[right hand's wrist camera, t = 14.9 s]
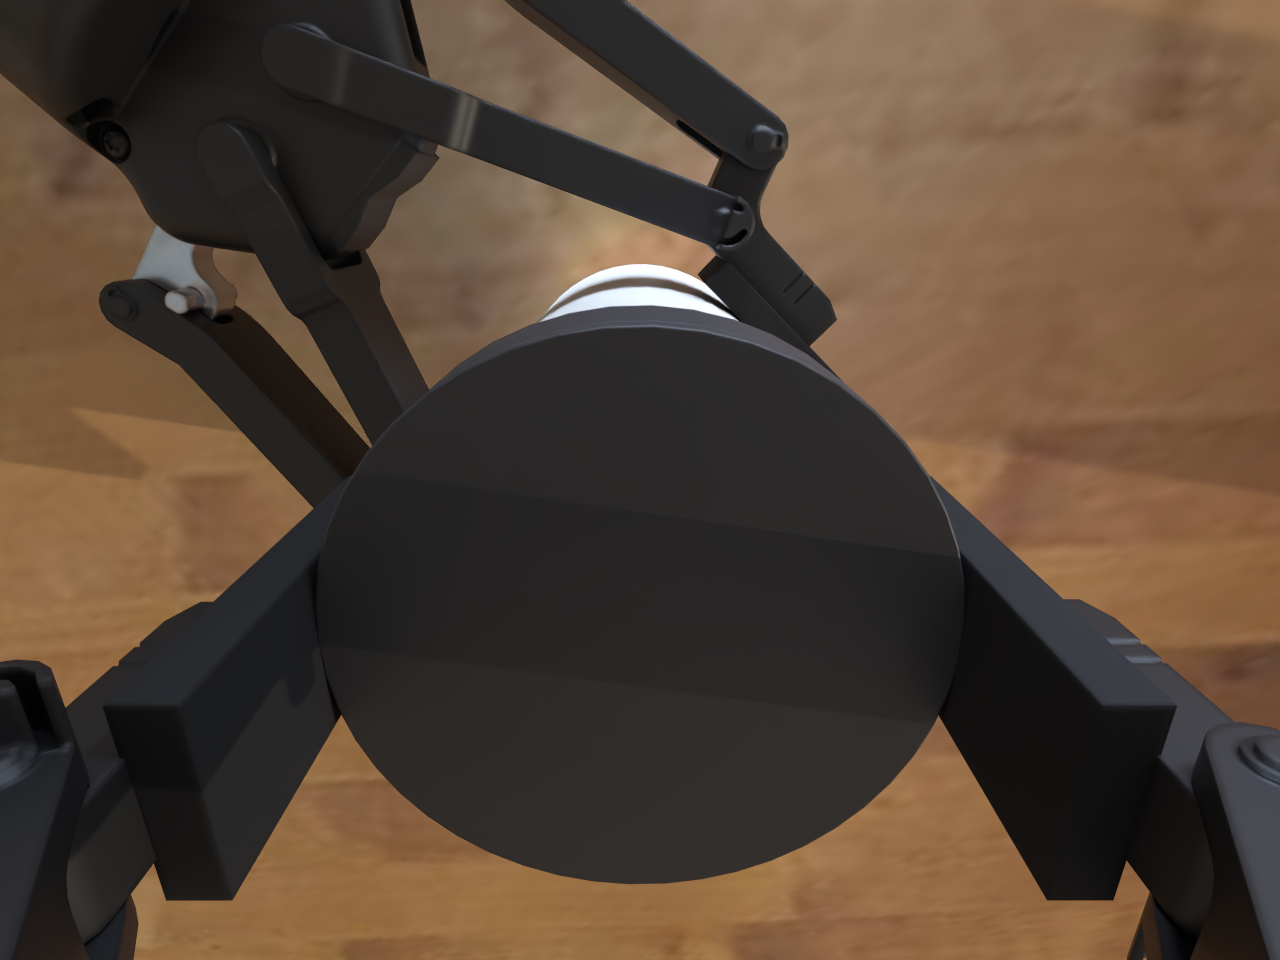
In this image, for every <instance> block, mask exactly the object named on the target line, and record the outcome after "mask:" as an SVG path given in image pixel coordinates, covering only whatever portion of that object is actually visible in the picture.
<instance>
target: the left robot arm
mask: <svg viewBox="0 0 1280 960" xmlns="http://www.w3.org/2000/svg"><path fill="white" fill-rule="evenodd" d="M505 1H506V2H507V3H508V4H509V5H510V6H512V7H513V8H514V9H515V10H517V11H518V12H519V13H520V14H521V15H523V16H524V17H525V18H527V19H528V20H529V21H531V22H532V23H533V24H535V25H536V26H538V27H539V28H540V29H542V30H543V31H544V32H546V33H547V34H548V35H550V36H551V37H553V38H554V39H555V40H557V41H558V42H559V43H561V44H562V45H564V46H565V47H566V48H568V49H569V50H570V51H572V52H573V53H574V54H576V55H577V56H579V57H580V58H581V59H583V60H584V61H585V62H587V63H588V64H589V65H591V66H592V67H594V68H595V69H596V70H598V71H599V72H600V73H602V74H603V75H604V76H606V77H607V78H609V79H610V80H611V81H613V82H614V83H615V84H617V85H618V86H620V87H621V88H622V89H624V90H625V91H626V92H628V93H629V94H630V95H632V96H633V97H635V98H636V99H637V100H639V101H640V102H641V103H643V104H644V105H645V106H647V107H648V108H650V109H651V110H652V111H654V112H655V113H656V114H658V115H659V116H661V117H662V118H663V119H665V120H666V121H667V122H669V123H670V124H671V125H673V126H674V127H676V128H677V129H678V130H680V131H681V132H682V133H684V134H685V135H686V136H688V137H689V138H691V139H692V140H693V141H695V142H696V143H697V144H699V145H700V146H701V147H703V148H704V149H706V150H707V151H708V152H710V153H711V154H712V155H714V156H715V157H717V158H718V159H719V161H718V163H717V166H716V168H715V170H714V172H713V175H712V177H711V179H710V181H709V184H708V186H705V185H703V184H700V183H697V182H695V181H692V180H690V179H687V178H684V177H682V176H679V175H677V174H674V173H671V172H669V171H666V170H664V169H661V168H658V167H656V166H653V165H651V164H648V163H645V162H643V161H640V160H638V159H635V158H632V157H630V156H627V155H625V154H622V153H619V152H617V151H614V150H611V149H609V148H606V147H604V146H601V145H598V144H596V143H593V142H591V141H588V140H585V139H583V138H580V137H578V136H575V135H572V134H570V133H567V132H565V131H562V130H559V129H557V128H554V127H552V126H549V125H546V124H544V123H541V122H539V121H536V120H533V119H531V118H528V117H526V116H523V115H520V114H518V113H515V112H512V111H510V110H507V109H505V108H502V107H499V106H497V105H494V104H492V103H489V102H486V101H484V100H481V99H479V98H477V97H474V96H472V95H470V94H468V93H466V92H463V91H461V90H458V89H456V88H453V87H451V86H448V85H446V84H443V83H441V82H438V81H435V80H433V79H430V76H429V72H428V68H427V64H426V60H425V56H424V52H423V48H422V44H421V40H420V36H419V32H418V28H417V24H416V20H415V16H414V12H413V8H412V4H411V0H0V74H1V75H3V76H4V77H5V78H6V79H7V80H9V81H10V82H11V83H12V84H13V85H15V86H16V87H17V88H18V89H19V90H20V91H22V92H23V93H24V94H25V95H26V96H28V97H29V98H30V99H31V100H32V101H34V102H35V103H36V104H37V105H38V106H39V107H41V108H42V109H43V110H44V111H45V112H47V113H48V114H49V115H50V116H51V117H53V118H54V119H55V120H56V121H57V122H59V123H60V124H61V125H62V126H63V127H65V128H66V129H67V130H68V131H70V132H71V133H72V134H74V135H75V136H76V137H78V138H79V139H80V140H82V141H83V142H84V143H86V144H87V145H89V146H90V147H91V148H93V149H94V150H96V151H97V152H99V153H100V154H101V155H103V156H104V157H106V158H107V159H108V160H110V161H111V162H112V163H113V164H115V165H116V166H117V167H118V168H119V169H120V170H121V171H122V172H123V174H124V175H125V176H126V177H127V179H128V180H129V181H130V183H131V184H132V186H133V187H134V189H135V191H136V192H137V194H138V196H139V198H140V200H141V202H142V204H143V206H144V208H145V210H146V212H147V213H148V215H149V216H150V218H151V219H152V220H153V221H154V222H155V223H156V226H155V228H154V231H153V233H152V235H151V238H150V240H149V242H148V245H147V247H146V249H145V251H144V254H143V256H142V258H141V261H140V263H139V265H138V268H137V270H136V272H135V275H134V277H133V278H132V279H130V280H123V281H116V282H112V283H110V284H108V285H105V287H104V288H103V289H102V291H101V292H100V298H99V304H100V308H101V311H102V313H103V314H104V316H105V317H106V319H107V320H108V321H109V322H110V323H111V324H113V325H114V326H115V327H117V328H118V329H120V330H122V331H123V332H125V333H127V334H128V335H130V336H132V337H133V338H135V339H137V340H138V341H140V342H142V343H143V344H145V345H147V346H148V347H150V348H152V349H153V350H155V351H157V352H158V353H160V354H162V355H164V356H165V357H167V358H169V359H170V360H172V361H174V362H175V363H177V364H179V365H180V366H181V367H182V368H183V369H184V371H185V372H186V373H187V374H188V375H189V376H190V377H191V378H192V379H193V380H194V381H195V382H196V383H197V384H198V385H199V386H200V388H201V389H202V390H203V391H204V392H205V393H206V394H207V395H208V396H209V397H210V398H211V399H212V400H213V401H214V402H215V404H216V405H217V406H218V407H219V408H220V409H221V410H222V411H223V412H224V413H225V414H226V415H227V416H228V417H229V418H230V419H231V421H232V422H233V423H234V424H235V425H236V426H237V427H238V428H239V429H240V430H241V431H242V432H243V433H244V434H245V435H246V436H247V438H248V439H249V440H250V441H251V442H252V443H253V444H254V445H255V446H256V447H257V448H258V449H259V450H260V451H261V452H262V454H263V455H264V456H265V457H266V458H267V459H268V460H269V461H270V462H271V463H272V464H273V465H274V466H275V467H276V468H277V469H278V471H279V472H280V473H281V474H282V475H283V476H284V477H285V478H286V479H287V480H288V481H289V482H290V483H291V484H292V485H293V487H294V488H295V489H296V490H297V491H298V492H299V493H300V494H301V495H302V496H303V497H304V498H305V499H306V500H307V501H308V502H309V504H310V505H311V506H312V507H313V508H315V507H316V506H317V505H318V504H319V503H320V502H322V501H323V500H324V499H325V498H326V497H327V496H328V495H329V494H330V493H331V492H332V491H333V490H334V489H336V488H337V487H338V486H339V485H340V484H341V483H342V482H343V481H344V480H345V479H346V478H347V477H348V476H352V475H353V473H354V471H355V470H356V468H357V467H358V465H359V463H360V462H361V460H362V459H363V457H364V455H365V454H366V453H367V452H368V451H369V449H370V448H369V446H368V445H367V444H366V443H365V442H364V441H363V440H362V438H361V437H360V436H359V435H358V434H357V433H356V432H355V430H354V429H353V428H352V427H351V426H350V425H349V424H348V423H347V421H346V420H345V419H344V418H343V417H342V416H341V415H340V413H339V412H338V411H337V410H336V409H335V408H334V407H333V405H332V404H331V403H330V402H329V401H328V400H327V399H326V398H325V396H324V395H323V394H322V393H321V392H320V391H319V390H318V388H317V387H316V386H315V385H314V384H313V383H312V382H311V380H310V379H309V378H308V377H307V376H306V375H305V374H304V373H303V371H302V370H301V369H300V368H299V367H298V366H297V365H296V363H295V362H294V361H293V360H292V359H291V358H290V357H289V355H288V354H287V353H286V352H285V351H284V350H283V349H282V348H281V346H280V345H279V344H278V343H277V342H276V341H275V340H274V338H273V337H272V336H271V335H270V334H269V333H268V332H267V331H266V330H265V329H264V328H263V327H262V326H261V325H260V324H259V323H258V322H257V321H255V320H254V319H253V318H252V317H251V316H250V315H248V314H247V313H246V312H245V311H243V310H242V309H240V308H239V307H237V306H236V305H235V300H236V299H237V296H238V293H237V289H236V288H235V286H234V285H233V284H231V283H230V282H228V281H227V280H226V279H225V278H224V277H223V276H222V275H221V274H220V273H219V272H218V270H217V269H216V267H215V265H214V262H213V255H212V251H213V248H220V249H227V250H234V251H241V252H248V253H255V254H256V256H257V257H258V259H259V261H260V263H261V265H262V266H263V268H264V270H265V272H266V274H267V275H268V277H269V279H270V281H271V282H272V284H273V286H274V288H275V290H276V291H277V293H278V295H279V297H280V299H281V300H282V302H283V304H284V305H285V307H286V308H287V309H288V311H289V312H290V313H291V314H292V315H294V316H295V317H297V318H299V319H300V320H302V321H303V322H304V323H305V325H306V326H307V328H308V330H309V331H310V333H311V335H312V337H313V339H314V340H315V342H316V344H317V346H318V348H319V350H320V351H321V353H322V355H323V357H324V359H325V360H326V362H327V364H328V366H329V368H330V369H331V371H332V373H333V375H334V377H335V379H336V380H337V382H338V384H339V386H340V388H341V389H342V391H343V393H344V395H345V397H346V399H347V400H348V402H349V404H350V406H351V408H352V409H353V411H354V413H355V415H356V417H357V418H358V420H359V422H360V424H361V426H362V428H363V429H364V431H365V433H366V435H367V437H368V438H369V440H370V442H371V444H372V446H373V445H374V443H375V442H376V441H377V440H378V439H379V438H380V436H381V435H382V434H383V433H384V432H385V431H386V429H387V428H388V427H389V426H390V425H391V424H392V422H393V421H395V420H396V419H397V418H398V417H399V416H400V415H401V414H403V413H404V412H405V411H406V410H407V409H408V408H409V407H411V406H412V405H413V404H414V403H415V402H416V401H417V400H419V399H420V398H421V397H422V396H423V395H424V394H426V393H427V392H428V391H429V389H428V387H427V385H426V383H425V381H424V379H423V377H422V375H421V373H420V371H419V369H418V367H417V365H416V363H415V361H414V359H413V357H412V355H411V353H410V351H409V349H408V347H407V345H406V343H405V341H404V340H403V338H402V336H401V334H400V332H399V330H398V328H397V326H396V324H395V322H394V320H393V318H392V316H391V314H390V312H389V310H388V308H387V306H386V304H385V302H384V300H383V298H382V296H381V292H380V281H379V277H378V275H377V272H376V270H375V268H374V266H373V264H372V262H371V260H370V258H369V256H368V254H367V252H366V250H365V249H367V248H369V247H370V245H371V244H372V243H373V242H374V240H375V239H376V238H377V237H378V235H379V234H380V233H381V231H382V230H383V229H384V228H385V226H386V223H387V221H388V218H389V216H390V213H391V211H392V208H393V206H394V203H395V201H396V199H397V198H398V197H399V196H400V195H402V194H403V193H405V192H406V191H408V190H409V189H410V188H412V187H413V186H415V185H416V184H418V183H419V182H420V181H422V180H423V178H424V177H425V176H426V174H427V173H428V172H429V171H430V169H431V168H432V167H433V166H434V164H435V163H436V162H437V161H438V159H439V157H438V156H437V155H436V154H435V152H436V149H437V146H438V144H439V145H441V146H444V147H447V148H450V149H452V150H455V151H458V152H461V153H464V154H467V155H469V156H472V157H475V158H477V159H480V160H483V161H485V162H488V163H491V164H493V165H496V166H499V167H501V168H504V169H507V170H509V171H512V172H515V173H517V174H520V175H523V176H526V177H528V178H531V179H534V180H536V181H539V182H542V183H544V184H547V185H550V186H552V187H555V188H558V189H560V190H563V191H566V192H568V193H571V194H574V195H576V196H579V197H582V198H584V199H587V200H590V201H592V202H595V203H598V204H600V205H603V206H606V207H608V208H611V209H614V210H617V211H619V212H622V213H625V214H627V215H630V216H633V217H635V218H638V219H641V220H643V221H646V222H649V223H651V224H654V225H657V226H659V227H662V228H665V229H667V230H670V231H673V232H675V233H678V234H681V235H683V236H686V237H689V238H691V239H694V240H697V241H700V242H702V243H705V244H707V245H708V247H709V248H710V249H711V250H712V251H713V252H714V253H715V254H716V256H715V257H714V258H713V259H712V260H711V261H710V262H709V263H708V264H707V265H706V266H705V267H704V268H703V269H702V270H701V271H700V272H699V274H698V276H699V277H700V278H701V279H702V280H703V282H704V283H705V284H706V285H707V286H708V287H709V288H710V289H711V290H712V291H713V292H714V293H715V294H716V295H717V296H718V298H719V299H720V300H721V301H722V302H723V303H724V304H725V305H726V306H727V307H728V308H729V309H730V310H731V311H732V312H733V313H734V314H735V315H736V316H737V317H738V318H739V319H740V320H741V321H742V322H743V323H745V324H747V325H750V326H752V327H755V328H757V329H760V330H762V331H765V332H767V333H770V334H772V335H774V336H776V337H778V338H779V339H781V340H783V341H785V342H787V343H788V344H790V345H792V346H794V347H795V348H797V349H799V350H801V351H802V352H804V353H806V354H808V355H809V356H810V357H811V358H813V359H814V360H815V361H817V362H818V363H819V364H821V365H822V366H823V367H824V368H826V369H827V370H828V371H830V372H831V373H832V374H834V375H835V376H836V377H837V378H839V377H838V376H837V375H836V374H835V373H834V372H833V371H832V370H831V369H830V368H829V367H828V366H827V365H826V364H825V362H824V361H823V360H822V359H821V358H820V357H819V356H818V355H817V354H816V353H815V352H814V351H813V350H812V349H811V348H810V347H809V346H810V345H811V344H812V343H813V342H814V341H815V340H816V339H817V338H818V337H819V336H821V335H822V334H823V333H824V332H825V331H826V330H827V329H828V328H829V327H830V326H831V325H832V324H833V323H834V322H835V321H836V320H837V319H836V316H835V313H834V310H833V307H832V304H831V302H830V300H829V299H828V297H827V296H826V295H825V294H824V293H823V292H822V291H821V290H820V289H819V288H818V287H817V286H816V285H815V284H814V282H813V281H812V280H811V279H810V278H809V277H808V276H807V275H806V274H805V273H804V272H803V270H802V269H801V268H800V267H799V266H798V265H797V264H796V263H795V262H794V260H793V259H792V258H791V257H790V256H789V255H788V254H787V253H786V252H785V251H784V250H783V248H782V247H781V246H780V245H779V244H778V243H777V242H776V241H775V240H774V239H773V238H772V236H771V235H770V234H769V233H768V232H767V230H766V229H765V228H764V226H763V223H762V221H761V217H760V202H761V199H762V196H763V193H764V191H765V189H766V187H767V184H768V182H769V180H770V178H771V176H772V174H773V172H774V170H775V167H776V165H777V163H778V162H779V161H780V160H781V159H782V158H783V157H784V154H785V152H786V150H787V147H788V133H787V129H786V126H785V124H784V123H783V122H782V121H781V120H780V118H779V117H778V116H776V115H775V114H774V113H772V112H771V111H770V110H768V109H767V108H766V107H765V106H763V105H762V104H761V103H759V102H758V101H757V100H755V99H754V98H753V97H751V96H750V95H749V94H747V93H746V92H745V91H744V90H742V89H741V88H740V87H738V86H737V85H736V84H734V83H733V82H732V81H730V80H729V79H728V78H726V77H725V76H724V75H722V74H721V73H720V72H719V71H717V70H716V69H715V68H713V67H712V66H711V65H709V64H708V63H707V62H705V61H704V60H703V59H701V58H700V57H699V56H698V55H696V54H695V53H694V52H692V51H691V50H690V49H688V48H687V47H686V46H684V45H683V44H682V43H680V42H679V41H678V40H677V39H675V38H674V37H673V36H671V35H670V34H669V33H667V32H666V31H665V30H663V29H662V28H661V27H659V26H658V25H657V24H655V23H654V22H653V21H652V20H650V19H649V18H648V17H646V16H645V15H644V14H642V13H641V12H640V11H638V10H637V9H636V8H634V7H633V6H632V5H631V4H629V3H628V2H627V1H625V0H505ZM839 379H840V378H839ZM840 380H841V379H840ZM841 381H842V380H841ZM842 382H843V381H842ZM843 383H844V382H843Z"/></svg>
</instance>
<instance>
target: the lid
mask: <svg viewBox="0 0 1280 960" xmlns="http://www.w3.org/2000/svg"><path fill="white" fill-rule="evenodd" d="M315 610H316V625H317V635H318V641H319V646H320V651H321V656H322V661H323V666H324V671H325V675H326V678H327V680H328V683H329V686H330V688H331V691H332V693H333V696H334V699H335V701H336V704H337V707H338V709H339V711H340V713H341V714H342V716H343V718H344V720H345V722H346V723H347V725H348V727H349V729H350V731H351V733H352V734H353V736H354V738H355V740H356V741H357V742H358V744H359V745H360V747H361V748H362V749H363V751H364V752H365V753H366V755H367V756H368V757H369V759H370V760H371V762H372V763H373V764H374V766H375V767H376V768H377V769H378V770H379V771H380V772H381V774H382V775H383V776H384V777H385V778H386V779H387V780H388V781H389V782H390V783H391V784H392V785H393V786H394V787H395V788H396V789H397V790H398V791H399V793H400V794H402V795H403V796H404V797H405V798H406V799H408V800H409V801H410V802H411V803H412V804H414V805H415V806H416V807H417V808H418V809H420V810H421V811H422V812H423V813H424V814H426V815H427V816H428V817H430V818H431V819H433V820H434V821H436V822H437V823H439V824H440V825H442V826H443V827H445V828H446V829H448V830H449V831H451V832H452V833H454V834H455V835H457V836H459V837H461V838H462V839H464V840H466V841H468V842H470V843H472V844H474V845H476V846H478V847H480V848H482V849H484V850H486V851H488V852H490V853H492V854H495V855H498V856H500V857H503V858H505V859H508V860H510V861H513V862H516V863H518V864H521V865H523V866H527V867H530V868H534V869H538V870H541V871H545V872H549V873H552V874H556V875H560V876H566V877H572V878H577V879H583V880H589V881H596V882H609V883H622V884H657V883H673V882H682V881H690V880H699V879H705V878H709V877H714V876H719V875H723V874H728V873H733V872H737V871H740V870H743V869H746V868H750V867H753V866H756V865H759V864H762V863H765V862H768V861H771V860H774V859H776V858H778V857H780V856H783V855H785V854H787V853H790V852H792V851H794V850H796V849H799V848H801V847H803V846H805V845H807V844H809V843H810V842H812V841H814V840H816V839H817V838H819V837H821V836H823V835H825V834H826V833H828V832H830V831H832V830H833V829H835V828H836V827H838V826H839V825H841V824H842V823H843V822H845V821H846V820H847V819H849V818H850V817H852V816H853V815H854V814H856V813H857V812H858V811H860V810H861V809H863V808H864V807H865V806H866V805H867V804H868V803H869V802H871V801H872V800H873V799H874V798H875V797H876V796H877V795H878V794H879V793H880V792H881V791H883V790H884V789H885V788H886V787H887V786H888V785H889V784H890V783H891V782H892V781H893V780H894V778H895V777H896V776H897V775H898V774H899V773H900V771H901V770H902V769H903V768H904V767H905V766H906V764H907V763H908V762H909V761H910V760H911V759H912V757H913V756H914V755H915V753H916V752H917V750H918V749H919V747H920V745H921V744H922V742H923V741H924V739H925V738H926V736H927V735H928V733H929V732H930V730H931V729H932V727H933V725H934V723H935V721H936V719H937V717H938V715H939V713H940V711H941V708H942V706H943V704H944V702H945V700H946V698H947V696H948V693H949V690H950V687H951V684H952V681H953V677H954V674H955V670H956V666H957V661H958V656H959V650H960V645H961V639H962V634H963V628H964V622H965V585H964V578H963V572H962V565H961V559H960V552H959V547H958V544H957V541H956V538H955V535H954V531H953V528H952V525H951V522H950V519H949V516H948V513H947V510H946V508H945V506H944V504H943V502H942V500H941V498H940V496H939V494H938V492H937V490H936V488H935V486H934V484H933V482H932V480H931V478H930V476H929V474H928V473H927V472H926V470H925V469H924V467H923V466H922V465H921V463H920V462H919V460H918V459H917V458H916V456H915V455H914V453H913V452H912V451H911V449H910V448H909V446H908V445H907V444H906V442H905V441H904V440H903V439H902V438H901V437H900V436H899V435H898V434H897V433H896V431H895V430H894V429H893V428H892V427H891V426H890V425H889V424H888V423H887V422H886V421H885V420H884V419H883V418H882V417H881V416H880V415H879V414H878V413H877V412H876V411H875V410H874V409H873V408H872V407H871V406H870V405H868V404H867V403H866V402H865V401H864V400H863V399H862V398H860V397H859V396H858V395H857V394H856V393H855V392H854V391H852V390H851V389H850V388H849V387H848V386H847V385H846V384H844V383H843V382H842V381H841V380H840V379H839V378H837V377H836V376H835V375H834V374H832V373H831V372H830V371H828V370H827V369H826V368H824V367H823V366H822V365H821V364H819V363H818V362H817V361H815V360H814V359H813V358H811V357H810V356H809V355H808V354H806V353H804V352H802V351H801V350H799V349H797V348H795V347H794V346H792V345H790V344H788V343H787V342H785V341H783V340H781V339H779V338H778V337H776V336H774V335H772V334H770V333H767V332H765V331H762V330H760V329H757V328H755V327H752V326H750V325H747V324H745V323H742V322H739V321H737V320H734V319H730V318H726V317H722V316H718V315H714V314H710V313H706V312H702V311H698V310H693V309H684V308H674V307H665V306H656V305H640V306H609V307H603V308H597V309H591V310H585V311H579V312H573V313H568V314H564V315H561V316H558V317H555V318H551V319H548V320H545V321H542V322H538V323H535V324H532V325H529V326H527V327H525V328H522V329H520V330H518V331H516V332H514V333H512V334H510V335H507V336H505V337H503V338H501V339H499V340H497V341H494V342H492V343H491V344H489V345H488V346H486V347H485V348H483V349H482V350H480V351H479V352H477V353H475V354H474V355H472V356H471V357H469V358H468V359H466V360H465V361H463V362H462V363H460V364H459V365H458V366H457V367H455V368H454V369H453V370H452V371H451V372H450V373H448V374H447V375H446V376H445V377H444V378H443V379H442V380H440V381H439V382H438V383H437V384H436V385H435V386H434V387H432V388H431V389H430V390H429V391H428V392H427V393H426V394H424V395H423V396H422V397H421V398H420V399H419V400H417V401H416V402H415V403H414V404H413V405H412V406H411V407H409V408H408V409H407V410H406V411H405V412H404V413H403V414H401V415H400V416H399V417H398V418H397V419H396V420H395V421H393V422H392V424H391V425H390V426H389V427H388V428H387V429H386V431H385V432H384V433H383V434H382V435H381V436H380V438H379V439H378V440H377V441H376V442H375V443H374V445H373V446H372V447H371V448H370V449H369V451H368V452H367V453H366V454H365V455H364V457H363V459H362V460H361V462H360V463H359V465H358V467H357V468H356V470H355V471H354V473H353V475H352V476H351V478H350V480H349V481H348V483H347V484H346V486H345V488H344V489H343V491H342V494H341V496H340V498H339V501H338V503H337V505H336V508H335V510H334V513H333V515H332V517H331V520H330V522H329V524H328V527H327V531H326V535H325V539H324V543H323V547H322V551H321V555H320V559H319V563H318V573H317V584H316V596H315Z"/></svg>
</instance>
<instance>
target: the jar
mask: <svg viewBox="0 0 1280 960" xmlns="http://www.w3.org/2000/svg"><path fill="white" fill-rule="evenodd" d="M640 305H656V306H665V307H674V308H684V309H693V310H698V311H702V312H706V313H710V314H714V315H718V316H722V317H726V318H730V319H734V320H737V321H739V322H742V321H741V320H740V319H739V318H738V317H737V316H736V315H735V314H734V313H733V312H732V311H731V310H730V309H729V308H728V307H727V306H726V305H725V304H724V303H723V302H722V301H721V300H720V299H719V298H718V296H717V295H716V294H715V293H714V292H713V291H712V290H711V289H710V288H709V287H708V286H707V285H706V284H704V283H703V282H701V281H699V280H697V279H696V278H694V277H692V276H690V275H688V274H685V273H683V272H680V271H678V270H674V269H670V268H667V267H663V266H655V265H646V264H643V265H625V266H619V267H613V268H610V269H607V270H604V271H600V272H598V273H595V274H593V275H591V276H589V277H587V278H585V279H583V280H581V281H580V282H578V283H577V284H575V285H574V286H572V287H571V288H570V289H568V290H567V291H566V292H565V293H564V294H562V295H561V296H560V297H559V298H558V299H557V300H556V301H555V303H554V304H553V305H552V306H551V307H550V308H549V309H548V310H547V311H546V313H545V314H544V315H543V316H542V317H541V318H540V319H539V320H538V322H542V321H545V320H548V319H551V318H555V317H558V316H561V315H564V314H568V313H573V312H579V311H585V310H591V309H597V308H603V307H609V306H640ZM538 322H537V323H538ZM742 323H743V322H742Z"/></svg>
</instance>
